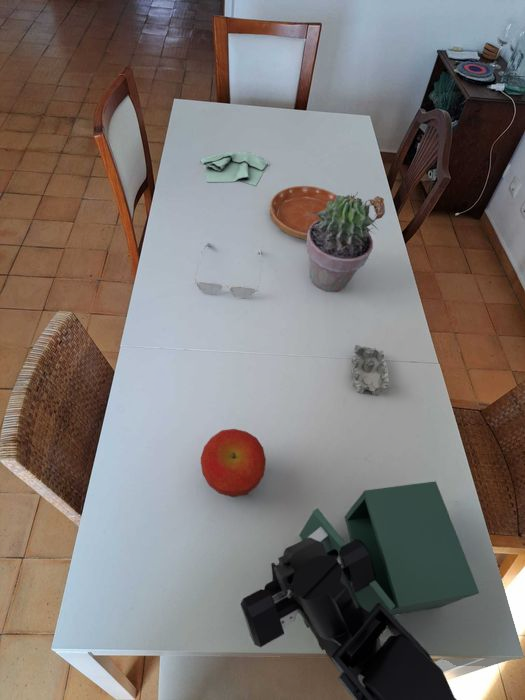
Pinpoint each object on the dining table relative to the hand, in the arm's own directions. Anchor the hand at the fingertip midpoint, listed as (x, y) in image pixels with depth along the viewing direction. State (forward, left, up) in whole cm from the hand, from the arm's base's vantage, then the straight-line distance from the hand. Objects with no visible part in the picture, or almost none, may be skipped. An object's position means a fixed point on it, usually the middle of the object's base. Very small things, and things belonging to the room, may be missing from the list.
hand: (286, 558), depth 69 cm
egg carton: (+36, -26, -7) cm, 45 cm away
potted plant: (+66, -24, -7) cm, 70 cm away
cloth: (+116, -6, -7) cm, 116 cm away
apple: (+16, +6, -7) cm, 18 cm away
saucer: (+90, -25, -7) cm, 93 cm away
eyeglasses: (+70, 0, -7) cm, 70 cm away
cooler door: (-4, -5, -7) cm, 9 cm away
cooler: (-1, -19, -7) cm, 20 cm away
